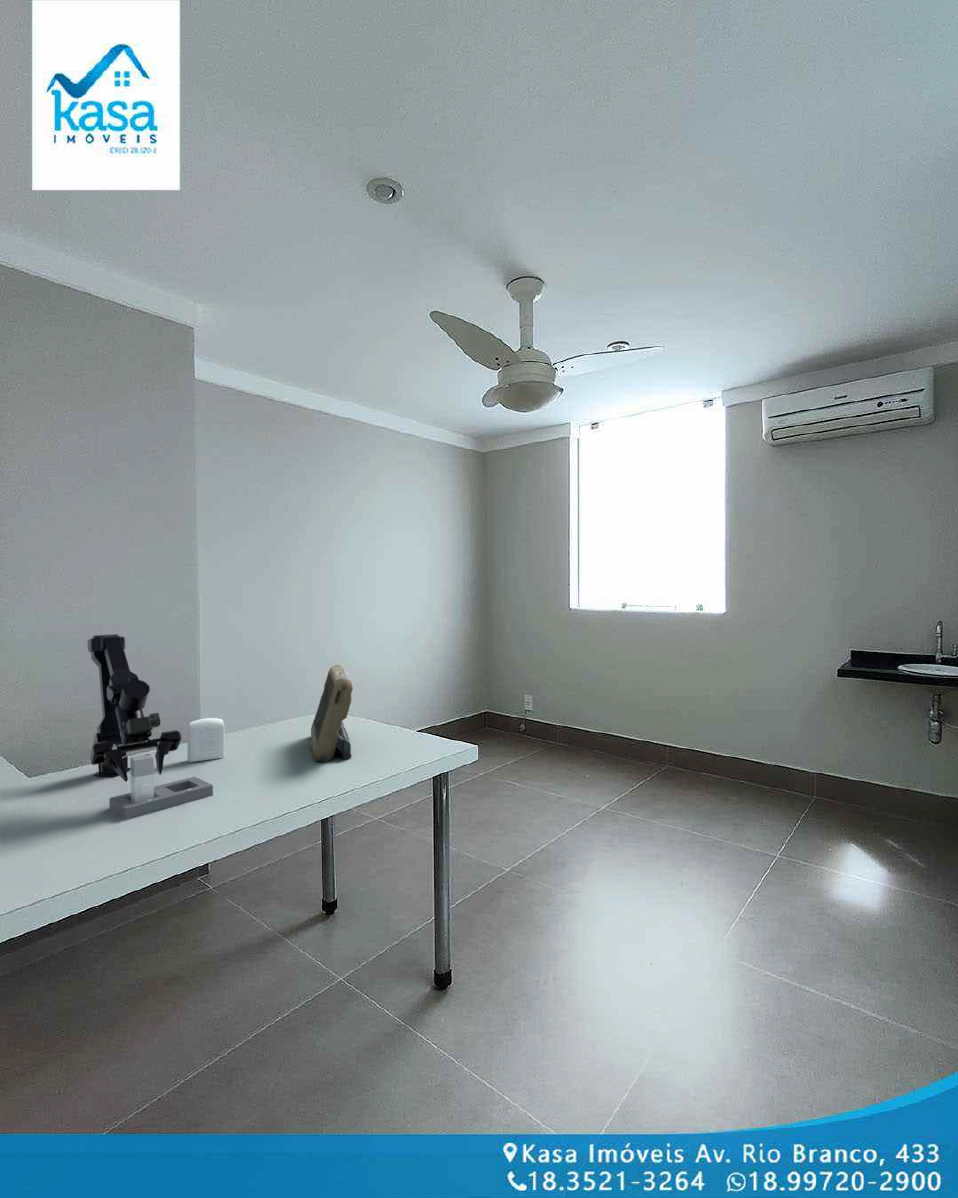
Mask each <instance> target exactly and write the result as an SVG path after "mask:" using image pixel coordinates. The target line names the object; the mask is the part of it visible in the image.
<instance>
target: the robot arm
mask: <svg viewBox="0 0 958 1198" xmlns="http://www.w3.org/2000/svg"><path fill="white" fill-rule="evenodd" d="M125 650H126V637H125V636H120V635H119V634H118V633H117V634H99V635H98V634H97V635H96V634H95V635H92V637H91V638H89V639H88V640H87V651H88V653H90V658H91V660H92V661H93V662H94V664H96V666H97V668H98V677H99V688H100V700H101V701H100V702H101V712H102V713H101V714H102V718H101V720H100V722H99V724H98V726H96V727H97V728H96V733H95V734H94V737H93V738H94V739H93V742H92V743H93V744H92V746H91V751H90V756H89V757H90V764H91V765H93V766H94V765H95V766H96V765H98V768H97V769H98V771H97V772H95V773H94V774H93V776H95V777H96V776H97V777H98V776H99V777H110V778H111V777H117V776H119V777H120V778H121V779H122V780H123V781H124V782H128V772H129V771H131V767H128V766H129V764H128V762H129V760H128V759H129V758H128V755H127V753H129V752H134V751H139V750H140V751H141V750H146V749H153V748H155V749H156V752H155V754H154V756H155V757H154V758H155V763H156V770H157V773H158V775H162V772H163V767H164V766H163V765H164V761H165V756H166V755H168V754H169V753H170V752H175V751H176V750H178V748H179V746H180V743H181V741H182V734H181V732H180V731H179V730H177V729H175V730H169V731H162V732H161V734H160V737H159V738H154V739H150V738H151V737H152V735H153V733H152V730H153V729H154V728H158V727H160V725H161V717H160V714H159V712H153V713H150V714H149V715H148V716H145V714H144V708H145V706H146V704H147V700H148V697H149V694H150V690H151V687H150V685H149V684H148V683H147V682H146V681H144V680H141V679H140V678H139V676H138V675H137V674H136V673H134V672H132V670H131V669H130V665H129V663H128V662H129V661H128V659H127V655H126V651H125Z"/></svg>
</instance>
